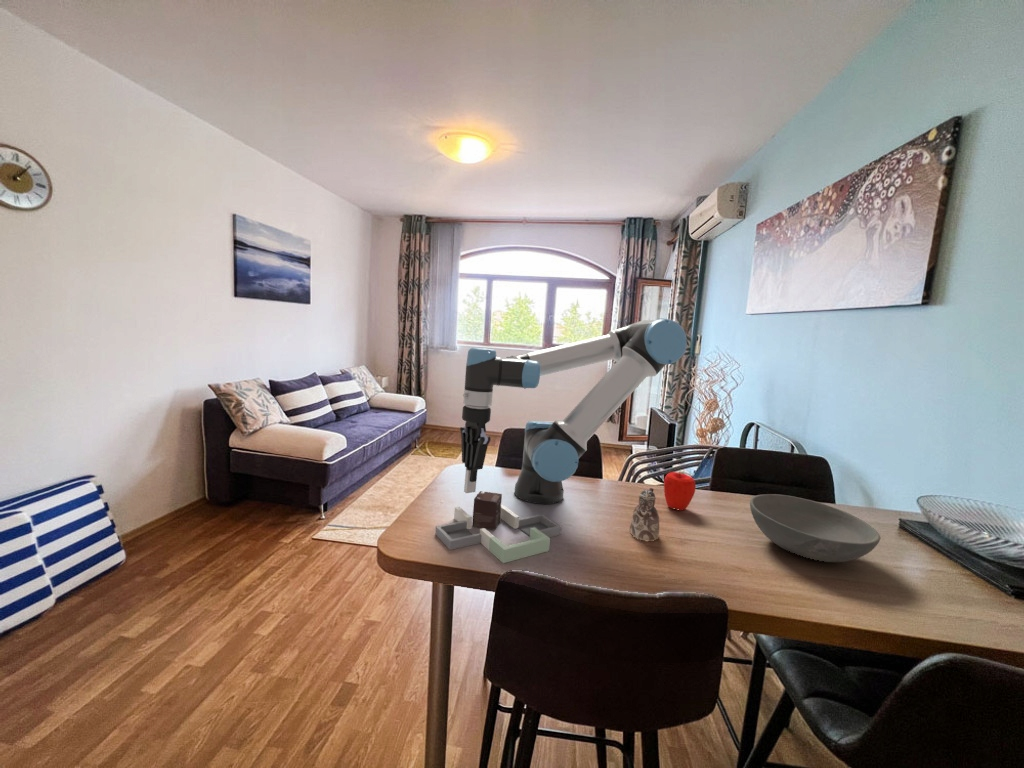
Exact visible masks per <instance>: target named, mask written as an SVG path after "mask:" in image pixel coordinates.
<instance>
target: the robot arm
mask: <svg viewBox="0 0 1024 768" xmlns="http://www.w3.org/2000/svg"><path fill="white" fill-rule="evenodd" d="M687 341H688V339H687V334H686V332H685V330H684V328H683V327H682V326H681V325H680V324H679V323H678V322H677V321H674V320H672V319H668V318H656V319H649V320H640V321H636V322H634V323H631V324H629V325H625V326H623V327H619V328H615V329H612V330H609V332H608V333H607V334H605V335H602V336H601V335H600V336H596V337H592V338H587V339H583V340H579V341H574V342H571V343H570V342H569V343H566V344H562V345H561V344H560V345H557V346H553V347H547V348H543V349H540V350H535V351H531V352H527V353H521V354H518V355H509V356H507V357H499V356H497V351H496V349H492V348H483V347H482V348H481V347H471V348H469V349H468V350H467V356H466V357H467V358H466V363H465V364H466V365H465V376H464V378H465V380H464V393H463V394H462V396H463V406H462V414H461V418H462V420H463V421H464V422H465V424H464V426H461V427H459V428H460V436H461V437H460V438H461V442H460V443H461V462H462V464H464V468H465V475H464V476H465V477H464V487H463V488H464V489H463V492H464V493H465V494H470V493H476V489H477V479H478V471H479V470H483V468H484V463H485V459H486V456H487V455H486V454H487V450H488V446H489V444H490V442H491V440H492V439H491V436H487V434H486V433H487V430H486V429H487V428H486V427H487V426H486V424H488V423H489V422H490V421H491V413H492V409H491V407H492V404H493V393H494V390H493V389H494V386H496V387H499V386H502V387H511V388H519V389H525V390H526V389H535V388H538V386H539V383H540V379H541V376H545V375H550V374H553V373H554V374H556V373H559V372H563V371H568V370H572V369H576V368H582V367H585V366H589V365H595V364H598V363H601V362H607V361H610V360H612V361H615V363H614V365H612V366H611V367H610V369H609V370H607V372H606V373H605V374H604V375H603V376H602V378H601V379H600V380H598V382H597V383H596V384H595V385H594V386H593V387H592V388H591V389H590V391H589V392H587V394H586V395H584V397H583V398H582V399H581V400H580V402H578V403H577V405H576V406H575V407H574V408H573V409H572V410H571V411H570V412H569V413H568V415H567V416H566V417H565V418H564V419H562V420H555V421H541V420H540V421H539V420H530V421H528V422H526V424H525V427H524V428H525V429H524V442H523V453H522V465H521V470H520V473H519V476H518V478H517V481H516V482H515V485H514V495H515V496H516V497H517V498H518V499H521V500H522V501H525V502H528V503H533V504H538V505H544V504H545V505H548V504H549V505H550V504H557V503H559V502H561V501H562V500H563V499H564V494H565V491H564V487H563V481H566V480H569V478H570V477H572V476H573V475H574V474H575V473H576V470H577V469H578V466H579V459H580V458H581V457H582V456H583V455H584V454H585V452H586V451H587V450H588V449H587V447H588V446H587V444H588V441H589V440H590V439H591V437H593V436H594V435H595V433H597V431H598V430H599V429H600V428H601V427H602V426H603V425H604V424H605V423H606V422H607V421H608V419H609V418H610V417H611V416H612V415H613V414H614V413H615V412H616V411H617V410H618V408H619V407H620V406H621V405H622V404H623V403H624V402H625V401H626V400H627V399H628V398H629V397H630V396H631V395H632V393H633V392H634V391H635V390H636V389H637V388H638V387H639V386H640V385H641V383H642V382H644V380H645V379H646V378H648V377H656V376H657V375H658V374H659V373H660V372H661V371H662V370H663V368H664V367H666V366H667V365H671V364H674V363H676V362H678V361H679V360H680V359H681V358H682V357H683V356H684V354H685V353H686V349H687V346H688V343H687Z"/></svg>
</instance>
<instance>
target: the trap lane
mask: <svg viewBox="0 0 1024 768" xmlns="http://www.w3.org/2000/svg"><path fill="white" fill-rule="evenodd" d="M453 514H454V515H453V519H454V520H455V521H456V522H452V523H451V522H450V523H446V524H440V525H436V526H435V533H434V534H435V535H436V537H437V538H438V539H439V540H440V541H441V542H442V543H443V544H444V545H445V547H446V548H447V549H448V550H449V551H452V550H457V549H462V548H465V547H469V546H473V545H478V544H481V545H482V546H484V547H485V548H486V549H487V550H488V551H489V552H490V553H491V554H492V555H493V556H494V557H496V558H497V559H498V560H499V561H500V562H501V563H502V564H506V563H509V562H513V561H517V560H521V559H524V558H525V559H526V558H528V557H531V556H536V555H538V554H543V553H546V552H549V551H550V544H551V538H552V537H553V538H554V537H556V536H560V535H561V534H562V526H561V525H559V524H558V523H556V522H554V521H553V519H550V517H549V518H548V517H547V516H545V515H544V514H542V513H541V514H535V515H531V516H525V517H521V518H520V516H519V515H518V514H516V513H515V512H513V511H512V510H510V508H508V507H507V506H505V505H503V503H501V515H500V520H502V521H503V522H505V523H506V524H507V525H508V526H510V527H511V528H513V529H515V530H516V529H519V530H520V531H522V532H523V533H525V534H526V535H527V536H528V537H529V540H526V541H521V542H517V543H513V544H509V545H506V544H504V543H503V542H502V541H500V540H499V539H498V538H497V537H496V536H495V535H493V534H492V533H491V532H490V531H489V530H488V529H486V528H479V533H478V532H477V533H474V534H473V533H472V532H471V531H470V530H471V529H472V519H473V516H471V515H470V514H469V513H468V512H466V511H465V510H464V509H463V508H462V507H460V506H454V513H453Z"/></svg>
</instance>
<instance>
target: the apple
mask: <svg viewBox="0 0 1024 768" xmlns="http://www.w3.org/2000/svg"><path fill="white" fill-rule="evenodd" d="M663 492H664V499H665V502H666V505H667V507H668V506H669V508H670V507H671V508H675V509H679V510H682V511H684V510H686V509H687V508H688V506H689V505H690V503H691V502H692V499H693V498H694V495H695V493H696V481H695V479H694V478H693V477H691V476H690V475H687V474H686V473H680V472H675V471H669V473H666V475H665V476H664V481H663ZM671 508H670V509H671ZM683 509H684V510H683Z"/></svg>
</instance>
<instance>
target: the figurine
mask: <svg viewBox="0 0 1024 768" xmlns="http://www.w3.org/2000/svg"><path fill="white" fill-rule="evenodd" d="M655 504H656V495H655V493H654V488H652V487H650V488H649V489H644V490H643V491H641V493H639V495H638V505H637V506H635V508H634V510H633V513H632V518H631V522H630V525H629V534H630V533H631V534H632V535H633V536H632V535H631V534H630V535H631V536H632V538H634V537H636V538H638V539H640V540H639V541H641V540H649V541H653V540H656V539H657V540H658V539H659V535H660V516H659V511H658V509H657V508H656V507H655ZM636 538H635V539H636ZM638 539H637V540H638ZM657 540H656V541H657Z"/></svg>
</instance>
